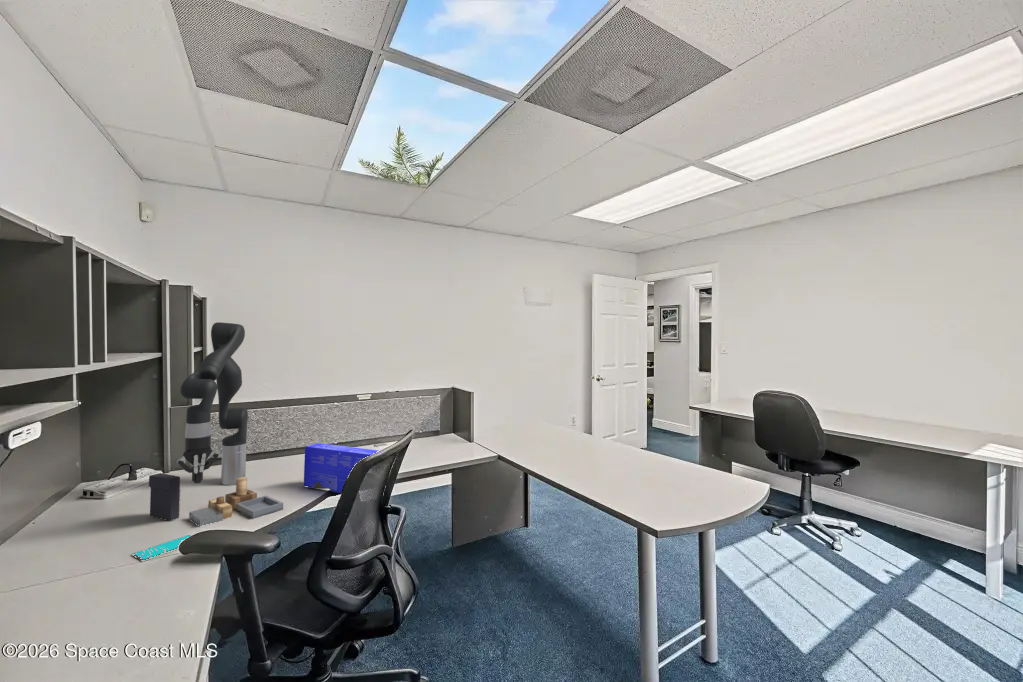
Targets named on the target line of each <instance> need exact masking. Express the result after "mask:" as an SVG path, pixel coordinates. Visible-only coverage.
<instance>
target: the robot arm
mask: <svg viewBox="0 0 1023 682" xmlns="http://www.w3.org/2000/svg"><path fill="white" fill-rule="evenodd" d="M210 329H211V330H210V337H211V345H212V349H213V351H212V352H210V353H209V354H207V355H206V356H205V357H204V358H203V360H202V361H201V363H200V364H199V367H198V368H197V369H196V370H195V371H193V372H192V373H191V374H190V375H189V376H188V377H186V378H185V379H184V381H183V382H182V384H181V386H180V390H179V392H180V395H181V396H182V398H185V399H188V400H189V399H190V400H191V399H192V400H194V399H195V400H196V399H198V400H201V399H202V401H201V403H200V404H193V405H190V406H188V407H187V408H186V416H185V417H186V422H185V429H184V433H185V434H184V452H183V453H182V457H180V458H179V459H176V460H175V463H176V464H177V465H178V466H179V467H180V468H182V469H183V470H184V471H185V472H187V473H188V474H191V482H193V483H194V484H200V483H202V481H203V477H204V471H206V470H209V469H210V468H211V467H212V465H213V464H214V462H215V461H216V460H217V458H218V457H219V455H220V454H218V453H216V452H214V451H213V449H212V445H211V444H212V423H211V420H212V419H211V414H212V407H213V404H214V400H215V397H216V394H217V395H218V399H217V400H218V426H219V428H220V429H222V430H237V431H236V432H234V434H230V435H228V436H226V437H224V438H222V441H221V472H220V473H221V475H220V477H221V478H220V484H221V485H225V486H234V485H236V479H237V478H241V477H246V474H247V473H246V469H247V467H246V466H247V434H248V433H247V431H248V420H249V419H248V418H249V412H248V409H247V408H246V407H233V408H230V407H229V404H230V402H231V401H232V400H233V398H234V397H235V395H236V394H238V391H240V389H241V387H242V385H243V376H242V375H243V374H242V369H241V368H240V366H239V365H238V363H237V362H236V361H235V359H233V357H232V356H233V355H234V354H235V353H236V351H238V349H239V348H240V347H241V345H242V344H243V342H244V339H245V336H246V331H245V327H244V326H243V325H242V324H240V323H239V324H238V323H231V322H219V321H218V322H215V323H213V324H212V327H211V328H210ZM186 462H189V464H190V467H189V466H188V465H187V464H186Z"/></svg>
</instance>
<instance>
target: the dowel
mask: <svg viewBox="0 0 1023 682" xmlns="http://www.w3.org/2000/svg"><path fill="white" fill-rule="evenodd" d="M247 489H248V477H247V476H245V477H241V478H237V479H236V484H235V492H236V496H238V497H239V496H242V495H246V494H247Z"/></svg>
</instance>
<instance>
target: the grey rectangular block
mask: <svg viewBox="0 0 1023 682" xmlns="http://www.w3.org/2000/svg"><path fill="white" fill-rule="evenodd" d="M189 519H190V520H192V521H193V522H194V523H193V522H192V521H191V522H192V523H193V524H195V523H196V524H197V525H196V524H195V525H196V526H198V525H199V526H202V525H205V526H207V525H206V524H209V525H211V524H210V523H212V524H216V523H220V522H223V520H224V519H223V513H222V512H220V511H218V510H217V509H215V508H214V507H212V506H211V507H204V508H199V509H196V510H192V511H189V512H188V520H189ZM190 520H189V521H190ZM215 522H216V523H215ZM199 526H198V527H199ZM202 527H203V526H202Z"/></svg>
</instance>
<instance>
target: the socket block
mask: <svg viewBox="0 0 1023 682" xmlns="http://www.w3.org/2000/svg"><path fill="white" fill-rule="evenodd" d="M255 498H258V492H255V491H253V490H251V489H249V488H247V494H246V495H242V496H239V497H238V496H236V491H234V492H229V493H226V494H225V496H224V502H226V503H228V504H230V505H232V510H236V504H237V503H240V502H244V501H248V500H251V499H255Z"/></svg>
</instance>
